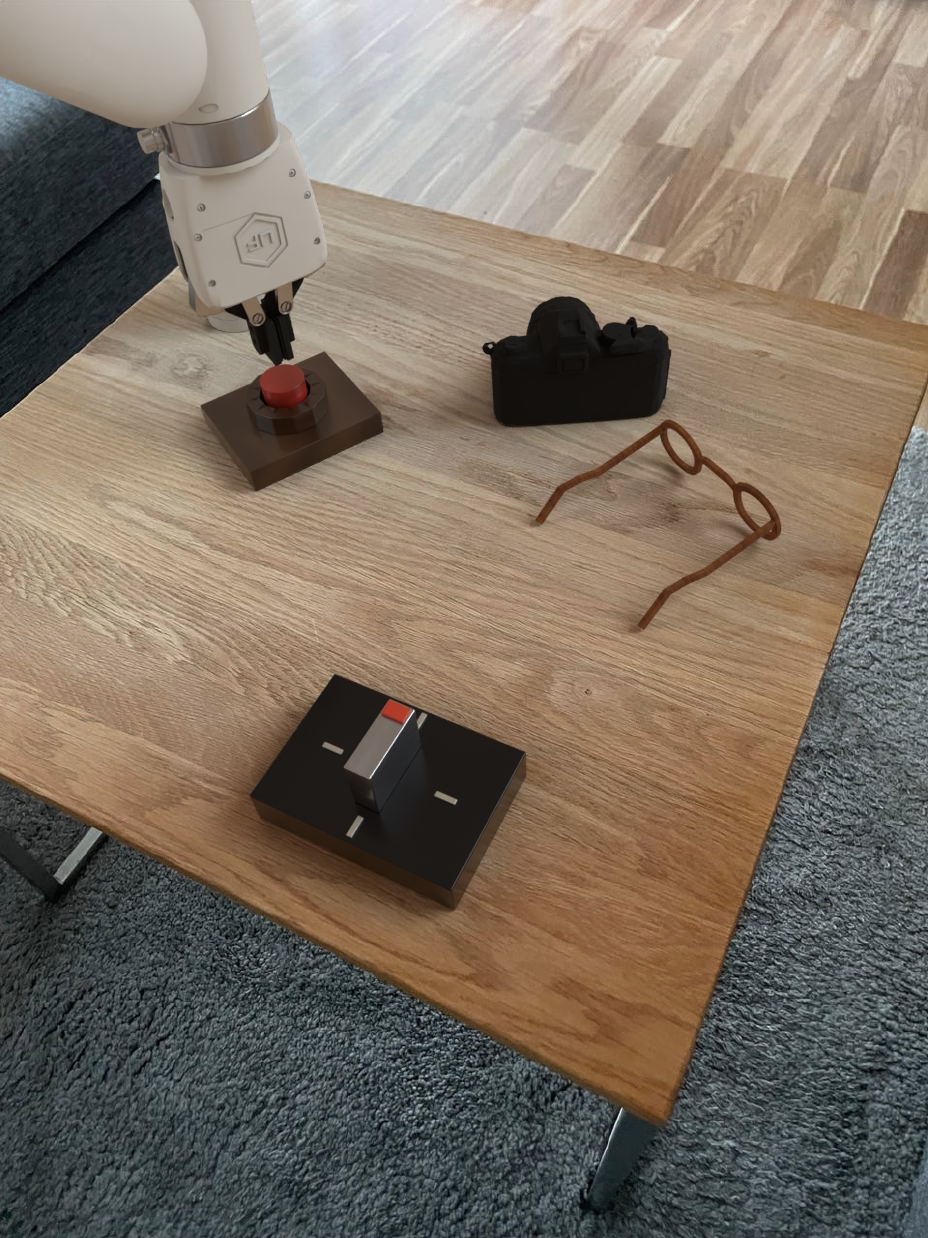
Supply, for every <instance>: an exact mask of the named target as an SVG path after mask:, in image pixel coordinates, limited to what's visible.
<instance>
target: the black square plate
mask: <svg viewBox="0 0 928 1238" xmlns="http://www.w3.org/2000/svg"><path fill="white" fill-rule="evenodd" d="M389 699H391V700H393V701H396V702H398V703H400V704H403V705H405V706H407V707H410V708H412V709H414V710H415V713H416V719H417V724H418V730H419V735H420V741H421V747H420V749H419V750H418V752H417V753H416V755H415V757H414V758H413V760H412V761H411V763H410V765H409V766H408V768H407V769H406V771H405V772H404V774H403V776H402V777H401V779H400V780H399V782H398V784H397V785H396V787H395V788H394V790H393V791H392V793H391V795H390V796H389V798H388V799H387V801H386V803H385V804H384V806H383V807H382V809H381V810H380V812H379V813H378V812H376V811H374V810H371V809H369V808H367V807H365V806H363V805H361V804H359V803H357V802H355V801H354V799H353V796H352V793H351V790H350V786H349V783H348V780H347V777H346V773H345V770H344V766H345V764H346V763H347V761H348V760H349V758H350V757H351V755H352V754H353V752H354V751H355V749H356V748H357V746H358V745H359V743H360V742H361V740H362V739H363V738H364V736H365V735H366V733H367V732H368V730H369V729H370V727H371V726H372V724H373V723H374V721H375V720H376V718H377V717H378V715H379V714H380V712H381V711H382V709H383V708H384V706H385V705H386V703H387V702H388V700H389ZM526 777H527V752H526V751H524V750H522V749H520V748H517V747H514V746H512V745H510V744H507V743H505V742H502V741H500V740H497V739H495V738H493V737H490V736H488V735H486V734H483V733H480V732H478V731H475V730H473V729H470V728H468V727H466V726H463V725H461V724H458V723H456V722H453V721H451V720H449V719H447V718H444V717H441V716H439V715H437V714H434V713H432V712H430V711H426V710H424V709H422V708H420V707H418V706H415V705H412V704H410V703H407V702H405V701H402V700H400V699H397V698H395V697H393V696H390V695H388V694H386V693H383V692H381V691H378V690H376V689H373V688H370V687H368V686H367V685H365V684H361V683H358V682H356V681H353V680H352V679H349V678H347V677H344V676H342V675H339V674H337V673H334V674H333V675H332V676H331V678H330V680H329V681H328V682H327V684H326V685H325V686H324V688H323V689H322V691H321V692H320V694H319V695H318V697H317V698H316V699H315V701H314V702H313V704H312V706H311V707H310V708H309V710H308V711H307V712H306V714H305V715H304V717H303V718H302V720H301V721H300V723H298V725H297V727H296V728H295V730H294V731H293V732H292V734H291V736H289V738H288V739H287V741H286V743H285V744H284V745H283V747H282V748H281V750H280V751H279V753H278V754H277V755H276V756H275V758H274V760H273V761H272V763H271V764H270V766H268V768H267V770H266V771H265V773H264V774H263V776H261V778H260V780H259V781H258V783H257V784H256V785H255V787H254V788H253V789H252V791H251V793H250V794H249V798H250V800H251V802H252V805H253V807H254V808H255V810H256V813H257V814H258V817H259V818H260V819H262V820H263V821H266V822H268V823H270V824H272V825H274V826H276V827H278V828H281V829H283V830H285V831H287V832H289V833H291V834H292V835H295V836H298V837H299V838H302V839H304V840H306V841H308V842H310V843H312V844H314V845H316V846H318V847H320V848H322V849H324V850H326V851H329V852H331V853H333V854H335V855H337V856H339V857H341V858H343V859H345V860H348V861H349V862H352V863H354V864H356V865H357V866H360V867H362V868H364V869H366V870H368V871H370V872H373V873H375V874H376V875H379V876H381V877H384V878H385V879H387V880H390V881H391V882H394V883H396V884H398V885H400V886H402V887H404V888H406V889H408V890H410V891H413V892H414V893H417V894H418V895H421V896H423V897H425V898H427V899H429V900H431V901H433V902H436V903H438V904H440V905H441V906H443V907H446V908H447V909H449V910H452V911H455V910H456V909H458V906H459V904H460V902H461V900H462V898H463V897H464V895H465V893H466V891H467V889H468V887H469V885H470V883H471V881H472V880H473V877H474V876H475V874H476V872H477V870H478V869H479V866H480V865H481V862H482V861H483V859H484V857H485V856H486V853H487V851H488V850H489V848H490V846H491V844H492V843H493V839H494V838H495V837H496V835H497V833H498V831H499V828H500V827H501V825H502V823H503V821H504V819H505V817H506V815H507V814H508V811H510V808H511V806H512V804H513V802H514V800H515V799H516V796H517V795H518V793H519V791H520V789H521V787H522V785H523V784H524V781H525V780H526Z"/></svg>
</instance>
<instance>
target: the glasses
mask: <svg viewBox="0 0 928 1238" xmlns="http://www.w3.org/2000/svg"><path fill="white" fill-rule="evenodd" d="M669 430H672V431H674V432H676V433H677V434H678V435H679V436H680V437H681V438H682V440H684V441H685V443H686V444H687V445H688V447H689V449H690V451H691V453H692V457H693V460H694V461H693V462H694V463H693V466H692V465H690V464H688V463H687V462H685V461H684V460H683V459H682V458H681V457H680V456H679V455H678V453H676V452H675V450H674V448H673V447H672V445H671V442H670V439H669V435H668V431H669ZM657 437H659V438H660V441H661V445H662V447H663V448H664V450H665V452H666V454H667V455H668V457H669V458H670V460H672V462H673V463H674V464H675V465H676V466H677V467H678V468H679V469H681V471H683V472H685V473H686V474H688V475H690V476H696V475H698V474H699V473H701V471H702V469H703V465H704V466H705V467H706V468H708V469H709V470H710V471H711V472H712V473H714V474H715V475H716V476H717V477H718V478H719V479H720V480H722V481H723V482H724V483H725V484H726V485H727V486H728V487H729V488H730V490H731V491H732V497H733V503H734V506H735V509H736V511H737V514H738V515H739V517H740V518H741V520H742V521H743V522H744V523H745V524H746V526H747V527H748V528H749V529H750V530H751V531H752V533H750V534H749V535H748V536H747V537H745V538H744V539H742V540H741V541H740V542H738V543H737V544H736V545H734V546H733V547H731V548H730V549H728V550H727V551H726V552H725V553H723V554H722V555H720V556H719V557H718V558H716V559H715V560H713V561H712V562H710V563H709V564H707V565H706V566H705V567H704V568H701V569H698V570H696V571H695V572H692V573H690V574H687V575H685V576H683V577H682V578H680V579H678V580H677V581H675V582H673V583H672V584H670V585H668V586H667V587H665V588H663V589H662V591H660V593H659V595H658V596H657V597H656V599H655V600H654V601H653V603H652V604H651V605H650V607H649V608H648V610H646V612H645V614H644V615H643V616H642V617H641V619H639V621H638V623H637V624H636V626H637V627H638V628H639V629H641V630H643V631H645V630H646V629H647V627H648V626H649V625H650V623H651V622H652V620H653V619H654V618H655V616H656V615H657V614H658V613H659V611H660V610H661V608H662V607H663V606H664V605H665V603H666V602H667V601H668V600H669V598H670V597H671V595H672V594H675V593H677V592H678V591H680V590H682V589H683V588H685V587H687V586H688V585H689V584H692V583H694V582H697V581H699V580H702V579H703V578H706V577H708V576H710V575H711V574H713V573H714V572H715V571H717V570H718V569H719V568H721V567H722V566H723V565H725V564H726V563H728V562H729V561H731V560H732V559H734V557H736V556H737V555H739V554H740V553H742V552H743V551H744V550H746V549H747V548H748V547H750V546H751V545H753V544H754V543H756V542H757V541H758V540H759V539H761V538H762V539H763V540H765V541H770V542H772V541H775V540H776V539H778V538H779V537H780V535H781V533H782V522H781V519H780V516H779V514H778V511H777V510H776V508H775V507H774V505H773V503H772V502H771V501H770V500H769V498H768V497H766V495H765V494H763V492H762V491H760V490H759V489H758V488H756V487H755V486H753V485H752V484H750V483H748V482H742V481H739V482H736V481H735V480H734V479H733V478H732V477H731V476H730V474H729V473H728V472H726V471H725V470H724V469H723V468H722V467H720V465H718V464H717V463H716V462H715V461H713V460H712V459H711V458H709V457H707V456H705V455H703V454H702V450H701V448H700V447H699V445H698V444H697V442H696V441H695V439H694V438H693V437H692V435H691V434H690V433H689V432H688V431H687V430H686V429H685V427H684V426H682V425H681V424H680V423H678V422H676V421H674V420H672V419H665V420H664V421H662V422H661V423H660V424H659V425H658V426H656V427H655V428H653V429H652V430H650V431H648V432H647V433H646V434H644V435H643V436H641V437H640V438H639V439H637V440H636V441H635V442H633V443H632V444H630V445H629V446H627V447H625V448H624V449H623V450H621V451H620V452H618V453H617V454H616V455H614V456H613V457H611V458H609V459H608V460H607V461H606V462H604V463H602V464H601V465H600V466H598V467H597V468H595V469H592V470H589V471H586V472H584V473H580V474H578V475H575V476H574V477H572V478H570V479H568V480H567V481H565V482H562V483H561V484H559V485H558V486H556V488H555V489H554V491H553V492H552V494H551V496H550V497H549V498H548V500H547V501H546V503H545V504H544V506H543V508H542V509H541V510H540V511H539V513H538V515H537V516H536V517H535V519H534V521H535V522H536V523H538V524H540V525H544V523H545V522H546V520H547V519H548V518H549V516H550V514H551V513H552V512H553V510H554V508H555V507H556V505H557V504H558V502H559V501H560V499H561V498H562V497H563V496H564V494H565V492H567V491H569V490H571V489H572V488H574V487H576V486H578V485H580V484H583V483H585V482H587V481H590V480H593V479H597V478H598V477H602V476H603V475H605V473H607V472H608V471H610V470H612V469H613V468H614V467H617V465H619V464H620V463H622V462H623V461H625V460H626V459H627V458H629V457H630V456H631V455H633V454H634V453H636V452H637V451H639V450H640V449H642V448H643V447H645V446H646V445H647V444H649V443H650V442H652V441H653V440H655V439H656V438H657ZM742 492H743V493H747V494H749V495H750V496H751V497H753V498H755V500H757V501H758V502H759V503H760V505H761V506H762V507H763V509H764V510H765V511H766V513H767V514H768V516H769V519H770V520H769V521H767V522H766V523H765V524H763V525H762V526H760V525H759V524H757V523H756V522H755V521H754V519H753V518H752V517H751V516H750V515H749V513H748V511H747V509H746V508H745V506H744V503H743V497H742Z"/></svg>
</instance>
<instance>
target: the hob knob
mask: <svg viewBox="0 0 928 1238" xmlns="http://www.w3.org/2000/svg"><path fill="white" fill-rule="evenodd" d="M420 747H421V741H420V735H419V730H418V724H417V719H416V713H415V710H414V709H412V708H410V707H407V706H405V705H403V704H400V703H398V702H396V701H393V700H391V699H389V700H388V702H387V703H386V705H385V706H384V708H383V709H382V711H381V712H380V714H379V715H378V717H377V718H376V720H375V721H374V723H373V724H372V726H371V727H370V729H369V730H368V732H367V733H366V735H365V736H364V738H363V739H362V740H361V742H360V743H359V745H358V746H357V748H356V749H355V751H354V752H353V754H352V755H351V757H350V758H349V760H348V761H347V763H346V764H345V766H344V770H345V773H346V777H347V780H348V783H349V786H350V790H351V793H352V796H353V799H354V801H355V802H357V803H359V804H361V805H363V806H365V807H367V808H369V809H371V810H374V811H376V812H378V813H379V812H380V810H381V809H382V807H383V806H384V804H385V803H386V801H387V799H388V798H389V796H390V795H391V793H392V791H393V790H394V788H395V787H396V785H397V784H398V782H399V780H400V779H401V777H402V776H403V774H404V772H405V771H406V769H407V768H408V766H409V765H410V763H411V761H412V760H413V758H414V757H415V755H416V753H417V752H418V750H419V749H420Z"/></svg>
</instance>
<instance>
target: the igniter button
mask: <svg viewBox="0 0 928 1238" xmlns="http://www.w3.org/2000/svg"><path fill="white" fill-rule="evenodd" d="M261 374H262V375H261ZM261 374H260V375H261V377H260V386H261V389H262V393H263V397H264V400H265V402H266V403H267V404H268V405H269V406H270V407H273V408H276V409H280V408H291V407H293V406H295V405H298V404H300V403H302V402H303V401H304V400H305V398H306V396H307V387H306V383H305V378H304V374H303V372H302V370H301V369H300V368H298V367H297V366H294V364H289V363H282V364H280V365H277V366H275V365H274V366H273V365H272V366H271V367H269V368H267V369H266V370H265V371H263V372H262V373H261Z"/></svg>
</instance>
